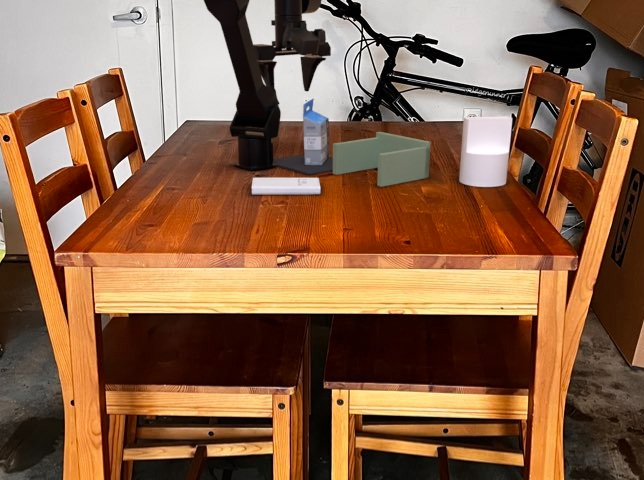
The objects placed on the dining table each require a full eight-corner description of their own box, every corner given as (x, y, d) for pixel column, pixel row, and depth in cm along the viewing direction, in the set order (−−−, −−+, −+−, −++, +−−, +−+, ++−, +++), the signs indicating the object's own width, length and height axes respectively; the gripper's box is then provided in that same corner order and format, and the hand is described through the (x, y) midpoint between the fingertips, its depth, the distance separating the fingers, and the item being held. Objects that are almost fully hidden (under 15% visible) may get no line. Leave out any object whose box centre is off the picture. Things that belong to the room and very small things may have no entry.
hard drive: (253, 185, 155) (318, 184, 155) (251, 195, 147) (320, 195, 148) (252, 176, 154) (318, 176, 154) (251, 187, 146) (320, 186, 147)
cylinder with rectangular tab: (496, 175, 162) (502, 113, 157) (513, 186, 154) (519, 121, 149) (453, 177, 161) (457, 114, 156) (467, 187, 153) (472, 122, 148)
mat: (309, 175, 162) (309, 173, 162) (262, 162, 174) (262, 160, 174) (361, 166, 170) (361, 164, 170) (314, 154, 182) (314, 152, 182)
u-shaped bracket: (381, 186, 153) (382, 149, 151) (332, 173, 164) (332, 138, 161) (428, 177, 161) (430, 141, 158) (379, 165, 171) (380, 131, 168)
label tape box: (321, 166, 169) (322, 104, 163) (302, 165, 169) (302, 103, 164) (329, 157, 176) (330, 98, 171) (311, 156, 177) (311, 98, 172)
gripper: (273, 18, 159) (274, 101, 166) (347, 15, 169) (346, 93, 176) (242, 16, 167) (245, 95, 174) (315, 13, 177) (315, 88, 184)
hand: (289, 93), depth 177 cm, fingers open, 9 cm apart
